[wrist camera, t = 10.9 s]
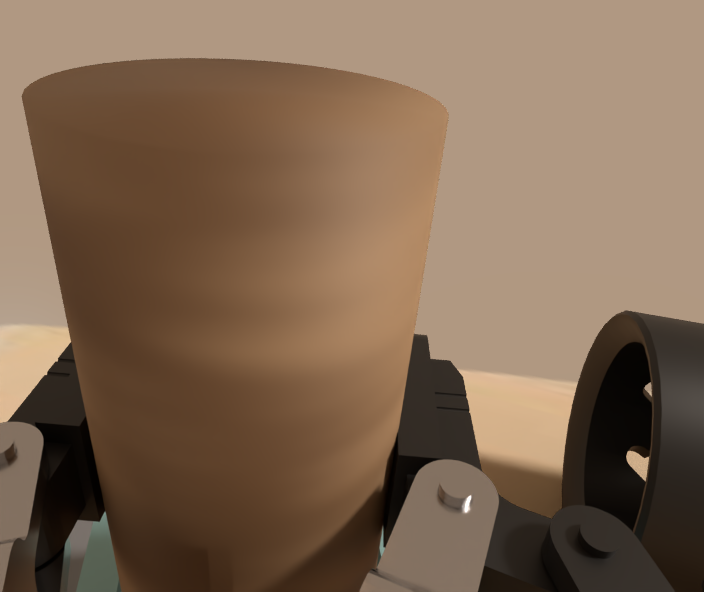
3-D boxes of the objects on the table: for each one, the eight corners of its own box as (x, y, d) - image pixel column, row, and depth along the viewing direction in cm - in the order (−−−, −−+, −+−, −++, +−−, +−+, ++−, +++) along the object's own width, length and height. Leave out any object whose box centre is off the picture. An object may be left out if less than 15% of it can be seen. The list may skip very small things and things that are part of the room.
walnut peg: (339, 577, 17) (395, 68, 10) (374, 788, 13) (516, 161, 6) (159, 597, 16) (79, 50, 9) (133, 831, 12) (-62, 146, 5)
